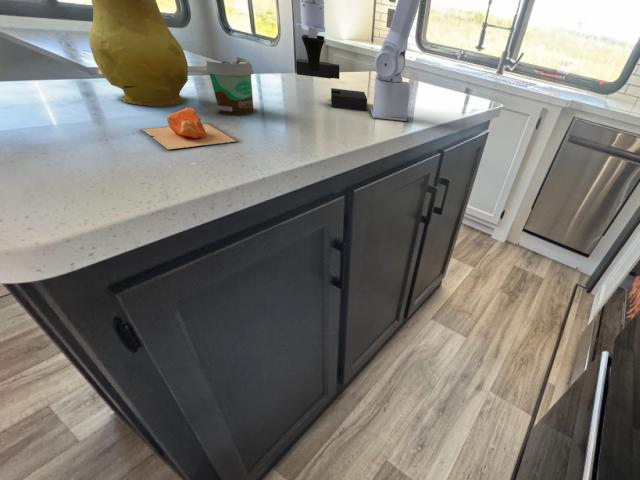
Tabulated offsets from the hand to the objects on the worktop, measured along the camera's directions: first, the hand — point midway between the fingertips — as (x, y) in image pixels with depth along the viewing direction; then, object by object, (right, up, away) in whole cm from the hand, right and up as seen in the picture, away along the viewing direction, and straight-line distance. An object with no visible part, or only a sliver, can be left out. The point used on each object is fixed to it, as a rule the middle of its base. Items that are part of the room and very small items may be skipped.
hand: (314, 69), depth 91 cm
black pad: (+1, -1, +1) cm, 2 cm away
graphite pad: (+8, -5, +8) cm, 12 cm away
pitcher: (-34, -16, -12) cm, 40 cm away
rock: (-17, -32, -28) cm, 46 cm away
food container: (-14, -18, -11) cm, 26 cm away
